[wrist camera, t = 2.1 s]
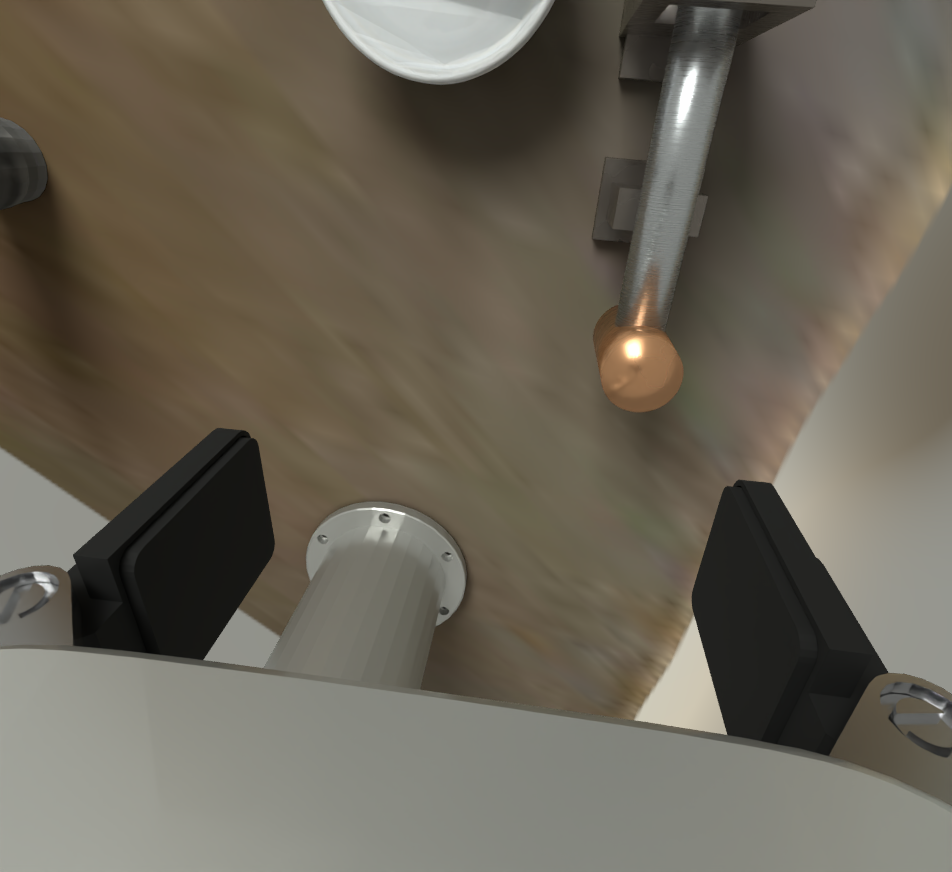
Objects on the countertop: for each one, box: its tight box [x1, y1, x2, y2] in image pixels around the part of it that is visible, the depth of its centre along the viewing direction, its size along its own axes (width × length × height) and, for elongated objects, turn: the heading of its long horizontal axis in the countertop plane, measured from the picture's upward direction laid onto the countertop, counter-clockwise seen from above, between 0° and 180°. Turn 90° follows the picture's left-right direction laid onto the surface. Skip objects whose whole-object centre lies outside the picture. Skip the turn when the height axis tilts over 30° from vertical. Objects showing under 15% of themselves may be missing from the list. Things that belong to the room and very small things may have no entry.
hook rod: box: [593, 5, 743, 412], centre depth 24 cm, size 20×4×6 cm, turn 175°
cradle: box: [592, 157, 708, 248], centre depth 28 cm, size 4×5×5 cm
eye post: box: [618, 0, 817, 86], centre depth 23 cm, size 5×6×9 cm
